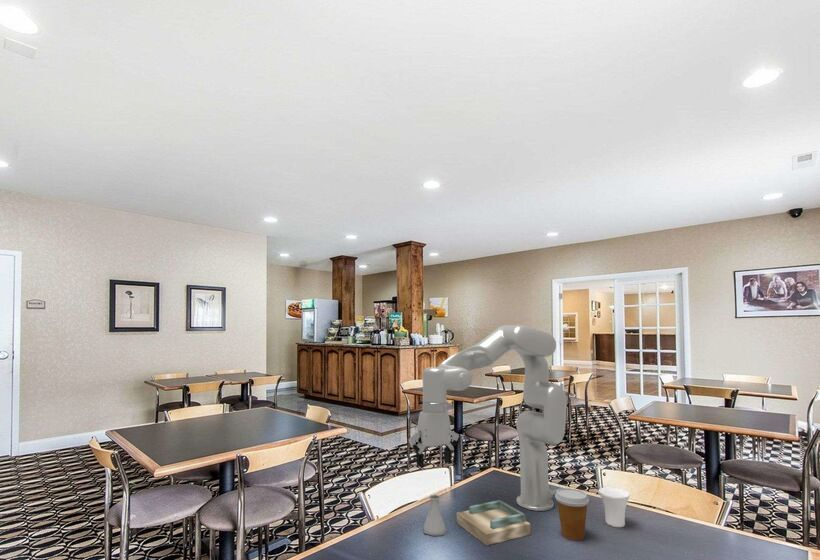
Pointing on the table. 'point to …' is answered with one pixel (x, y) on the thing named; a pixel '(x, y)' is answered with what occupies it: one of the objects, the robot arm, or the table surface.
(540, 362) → the robot arm
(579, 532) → the disposable coffee cup
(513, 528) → the dock
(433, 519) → the flask
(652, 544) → the table surface
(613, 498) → the cup
